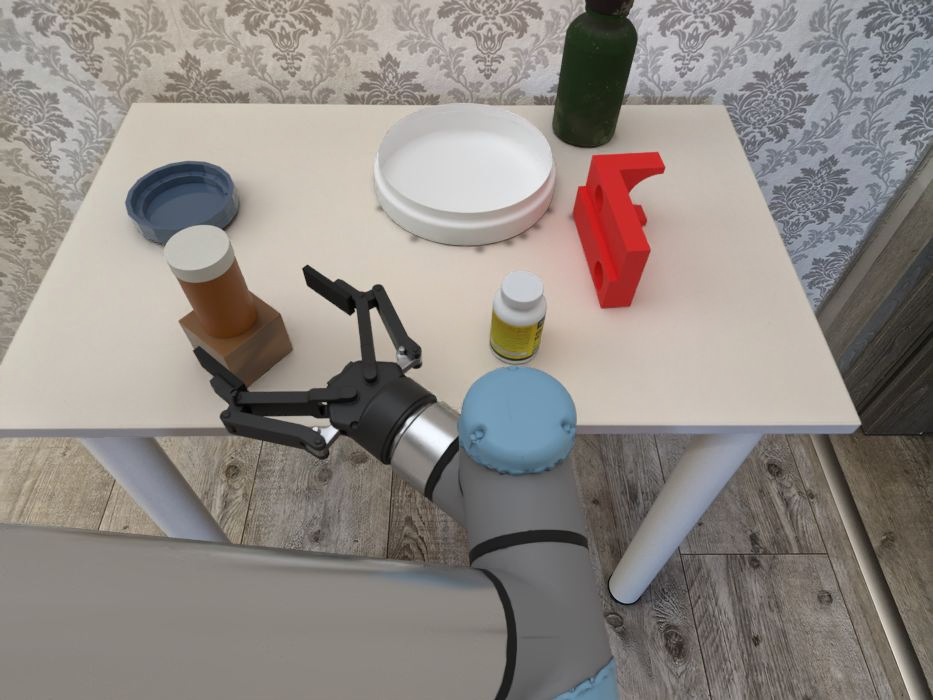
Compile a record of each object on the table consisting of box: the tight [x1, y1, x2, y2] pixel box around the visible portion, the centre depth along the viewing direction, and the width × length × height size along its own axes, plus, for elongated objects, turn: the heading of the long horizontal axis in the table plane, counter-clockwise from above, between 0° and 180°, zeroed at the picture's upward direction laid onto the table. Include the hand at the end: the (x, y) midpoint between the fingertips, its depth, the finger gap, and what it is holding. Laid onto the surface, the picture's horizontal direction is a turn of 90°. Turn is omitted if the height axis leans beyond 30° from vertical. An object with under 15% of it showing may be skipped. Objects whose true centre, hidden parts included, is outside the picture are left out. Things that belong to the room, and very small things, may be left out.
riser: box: [177, 290, 294, 388], centre depth 72 cm, size 8×8×7 cm
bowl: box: [124, 160, 240, 245], centre depth 87 cm, size 14×15×4 cm
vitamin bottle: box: [163, 225, 257, 338], centre depth 64 cm, size 6×6×11 cm
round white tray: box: [373, 102, 557, 247], centre depth 92 cm, size 27×27×6 cm
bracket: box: [572, 151, 667, 309], centre depth 81 cm, size 18×10×10 cm
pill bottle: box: [489, 270, 548, 365], centre depth 72 cm, size 6×6×11 cm
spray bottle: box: [551, 0, 639, 147], centre depth 92 cm, size 10×10×25 cm
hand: (256, 313), depth 62 cm, fingers open, 13 cm apart
